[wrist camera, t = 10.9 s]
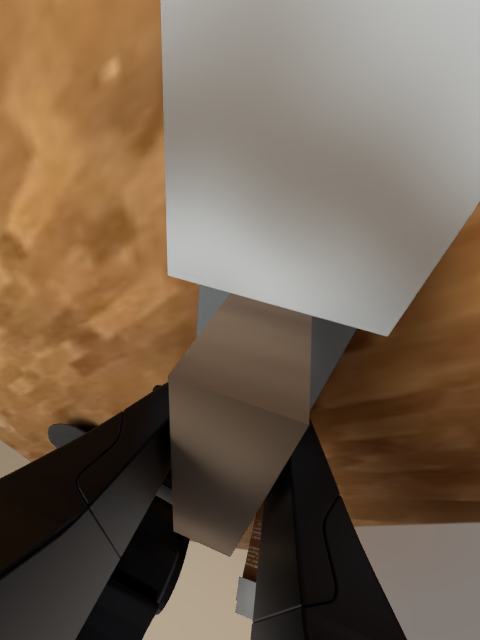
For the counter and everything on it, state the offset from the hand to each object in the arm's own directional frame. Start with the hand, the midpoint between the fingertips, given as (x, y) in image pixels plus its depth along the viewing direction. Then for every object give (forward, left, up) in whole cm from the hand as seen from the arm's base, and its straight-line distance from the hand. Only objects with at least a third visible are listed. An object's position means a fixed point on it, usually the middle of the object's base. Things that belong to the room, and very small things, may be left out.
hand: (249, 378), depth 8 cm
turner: (+1, 0, -1) cm, 2 cm away
